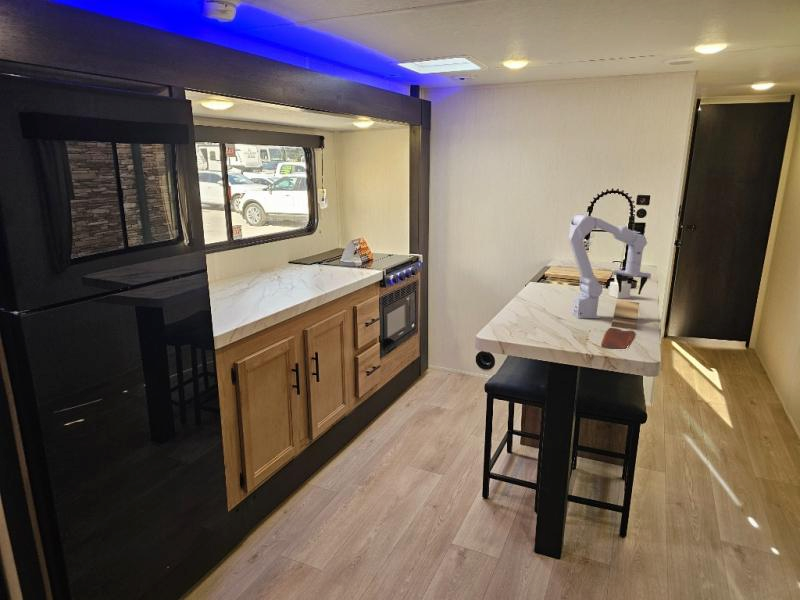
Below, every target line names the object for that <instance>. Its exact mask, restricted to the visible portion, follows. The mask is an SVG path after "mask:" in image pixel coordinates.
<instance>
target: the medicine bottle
mask: <svg viewBox="0 0 800 600" xmlns="http://www.w3.org/2000/svg"><path fill="white" fill-rule="evenodd" d="M627 275H628V274H627ZM628 280H629V276H623V278H622V286H621V292H619V286H618V282H617V279H616V275H614V281H610V283H609V289H608V290H609V291H608V296H609V297H612V298H615V299H616V300H619V299H630V296H631V289H632V284H631V283H628Z"/></svg>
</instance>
